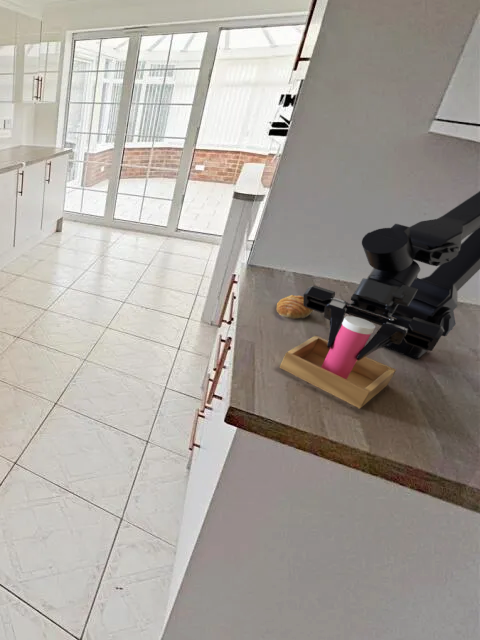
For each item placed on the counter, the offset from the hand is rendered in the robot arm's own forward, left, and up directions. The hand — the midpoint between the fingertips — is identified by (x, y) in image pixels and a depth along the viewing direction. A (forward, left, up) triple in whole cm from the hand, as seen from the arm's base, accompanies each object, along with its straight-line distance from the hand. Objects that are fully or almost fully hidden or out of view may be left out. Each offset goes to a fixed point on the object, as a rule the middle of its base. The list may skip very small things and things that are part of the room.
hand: (342, 353), depth 74 cm
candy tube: (-1, 0, -6) cm, 6 cm away
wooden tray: (-1, 0, -7) cm, 7 cm away
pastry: (-23, -16, -7) cm, 29 cm away
